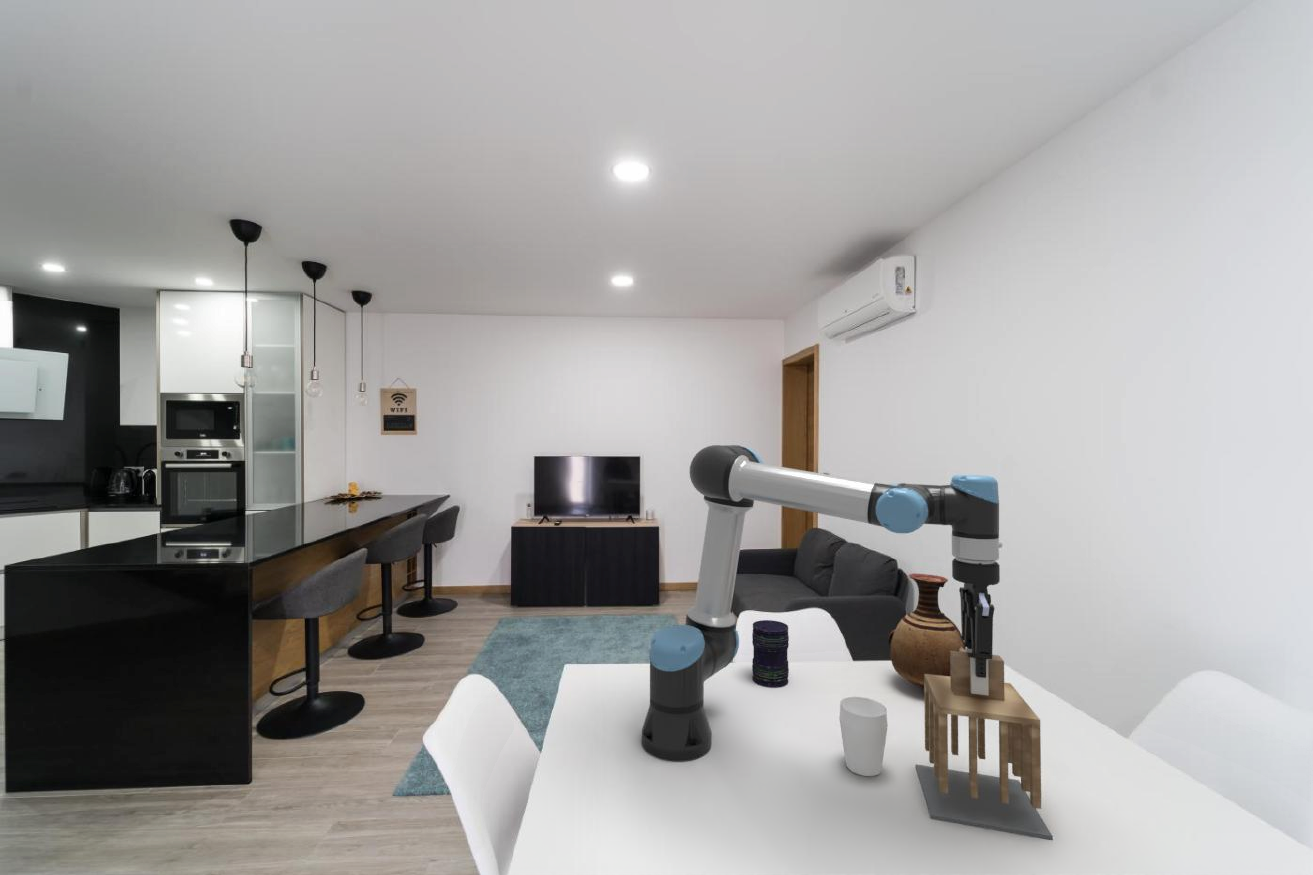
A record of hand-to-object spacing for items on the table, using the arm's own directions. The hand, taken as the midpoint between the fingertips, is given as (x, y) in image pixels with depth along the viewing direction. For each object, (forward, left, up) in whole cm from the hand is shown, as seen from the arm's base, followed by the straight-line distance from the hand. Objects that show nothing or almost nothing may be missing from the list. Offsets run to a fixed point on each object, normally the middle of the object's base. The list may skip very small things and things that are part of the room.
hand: (976, 689), depth 100 cm
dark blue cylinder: (-41, +42, -20) cm, 62 cm away
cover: (0, 0, -15) cm, 15 cm away
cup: (-19, +5, -20) cm, 28 cm away
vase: (0, +48, -20) cm, 52 cm away
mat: (0, 0, -20) cm, 20 cm away
